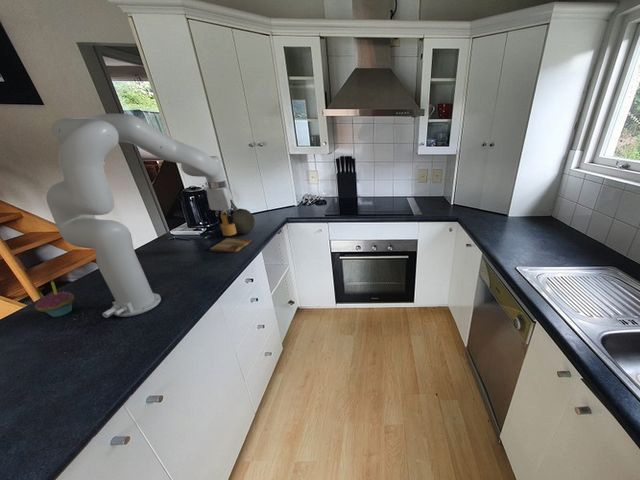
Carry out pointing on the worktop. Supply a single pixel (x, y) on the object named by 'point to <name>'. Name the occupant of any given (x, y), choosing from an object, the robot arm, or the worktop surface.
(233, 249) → the board
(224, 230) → the squash
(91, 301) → the worktop surface
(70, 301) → the cupcake
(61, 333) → the worktop surface
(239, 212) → the cantaloupe
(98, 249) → the robot arm
